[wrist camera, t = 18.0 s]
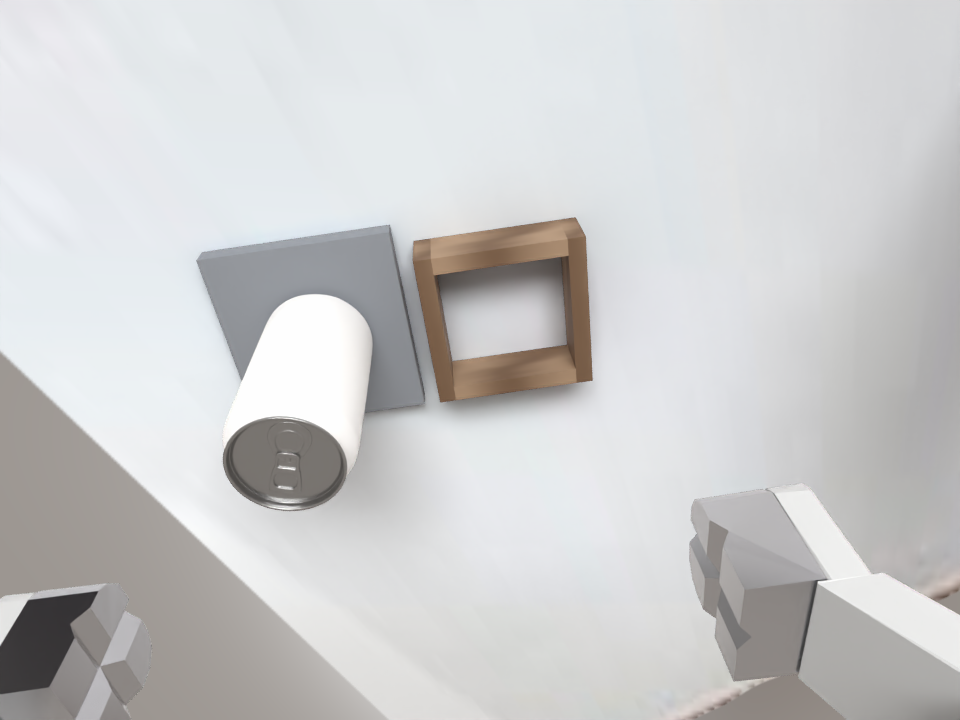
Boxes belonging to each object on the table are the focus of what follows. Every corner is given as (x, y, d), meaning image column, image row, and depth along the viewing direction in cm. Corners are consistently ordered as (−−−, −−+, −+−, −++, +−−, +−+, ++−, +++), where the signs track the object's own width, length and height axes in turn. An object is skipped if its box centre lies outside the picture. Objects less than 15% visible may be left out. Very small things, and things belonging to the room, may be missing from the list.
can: (380, 299, 40) (364, 420, 30) (366, 388, 44) (348, 524, 33) (268, 281, 39) (213, 400, 29) (263, 374, 43) (211, 510, 32)
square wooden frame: (575, 217, 40) (585, 236, 37) (583, 355, 45) (592, 380, 42) (413, 241, 40) (412, 261, 37) (439, 376, 45) (440, 402, 42)
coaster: (389, 224, 39) (388, 232, 38) (424, 393, 46) (424, 403, 45) (202, 252, 39) (196, 260, 38) (263, 416, 46) (259, 427, 45)
